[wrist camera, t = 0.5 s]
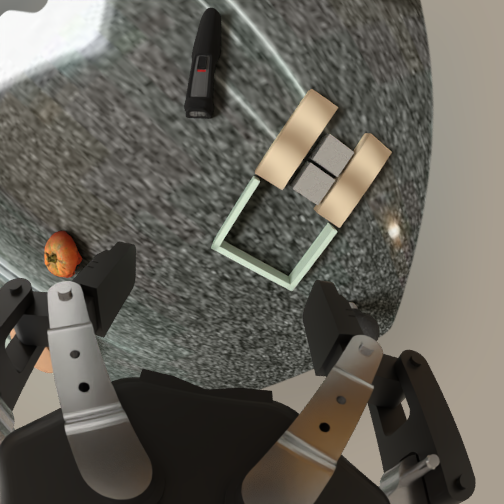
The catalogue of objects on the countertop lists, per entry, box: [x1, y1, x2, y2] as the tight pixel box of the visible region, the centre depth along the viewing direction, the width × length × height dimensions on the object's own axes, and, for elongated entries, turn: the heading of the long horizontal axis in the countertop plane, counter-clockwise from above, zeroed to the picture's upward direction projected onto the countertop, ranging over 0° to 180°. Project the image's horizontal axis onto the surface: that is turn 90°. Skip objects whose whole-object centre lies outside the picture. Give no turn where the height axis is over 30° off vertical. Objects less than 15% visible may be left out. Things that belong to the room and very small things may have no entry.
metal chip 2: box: [290, 161, 335, 205], centre depth 34 cm, size 4×4×2 cm
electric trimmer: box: [184, 8, 221, 119], centre depth 27 cm, size 4×16×3 cm, turn 174°
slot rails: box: [255, 89, 392, 228], centre depth 33 cm, size 13×14×2 cm
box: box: [211, 176, 337, 291], centre depth 37 cm, size 11×13×2 cm
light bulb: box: [349, 302, 379, 341], centre depth 39 cm, size 6×6×10 cm
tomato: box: [45, 231, 82, 278], centre depth 38 cm, size 8×7×7 cm
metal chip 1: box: [309, 134, 354, 177], centre depth 33 cm, size 4×4×2 cm
